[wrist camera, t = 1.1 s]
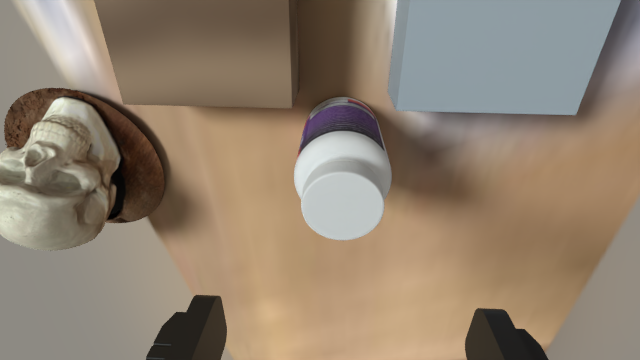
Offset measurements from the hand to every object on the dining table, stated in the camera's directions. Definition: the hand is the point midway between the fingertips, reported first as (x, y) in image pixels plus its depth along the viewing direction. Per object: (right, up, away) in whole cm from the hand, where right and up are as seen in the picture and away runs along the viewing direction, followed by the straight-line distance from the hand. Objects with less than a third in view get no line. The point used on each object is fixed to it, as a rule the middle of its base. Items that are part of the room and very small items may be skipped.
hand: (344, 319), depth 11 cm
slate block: (+9, +15, +9) cm, 19 cm away
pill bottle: (+1, +8, +14) cm, 16 cm away
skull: (-19, +6, +16) cm, 26 cm away
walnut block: (-7, +15, +10) cm, 19 cm away
